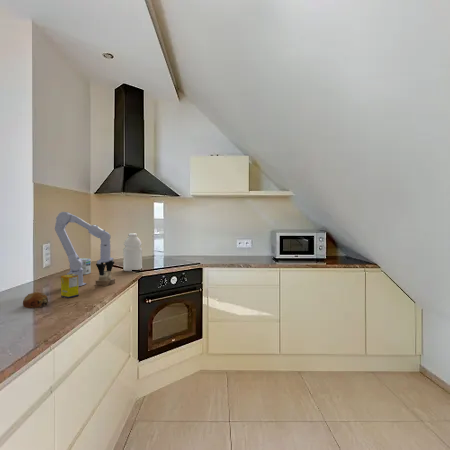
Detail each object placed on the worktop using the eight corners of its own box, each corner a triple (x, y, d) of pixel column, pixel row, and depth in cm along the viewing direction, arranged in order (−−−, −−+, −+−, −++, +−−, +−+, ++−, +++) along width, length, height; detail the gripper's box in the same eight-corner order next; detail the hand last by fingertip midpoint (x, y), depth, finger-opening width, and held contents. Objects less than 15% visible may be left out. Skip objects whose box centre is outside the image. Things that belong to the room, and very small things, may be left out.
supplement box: (70, 294, 170) (70, 273, 170) (78, 296, 167) (78, 274, 167) (60, 297, 165) (60, 275, 165) (68, 298, 162) (68, 276, 162)
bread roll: (44, 309, 155) (41, 293, 157) (53, 304, 149) (50, 287, 151) (21, 314, 147) (18, 297, 149) (29, 308, 141) (26, 291, 143)
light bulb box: (91, 273, 234) (91, 258, 234) (86, 274, 228) (86, 259, 227) (77, 272, 235) (77, 257, 235) (71, 274, 229) (71, 259, 228)
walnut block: (107, 286, 193) (107, 281, 193) (95, 285, 194) (95, 280, 194) (114, 283, 200) (114, 278, 200) (103, 283, 202) (103, 278, 202)
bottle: (125, 272, 240) (125, 234, 239) (121, 269, 252) (121, 233, 251) (144, 270, 246) (144, 233, 246) (139, 268, 259) (139, 233, 258)
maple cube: (106, 280, 194) (106, 272, 194) (98, 280, 195) (98, 272, 195) (111, 279, 199) (111, 271, 199) (103, 278, 200) (103, 270, 200)
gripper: (104, 253, 189) (104, 276, 189) (117, 250, 203) (117, 272, 204) (93, 253, 190) (93, 276, 191) (107, 250, 205) (107, 272, 205)
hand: (105, 274), depth 197 cm, fingers open, 7 cm apart
